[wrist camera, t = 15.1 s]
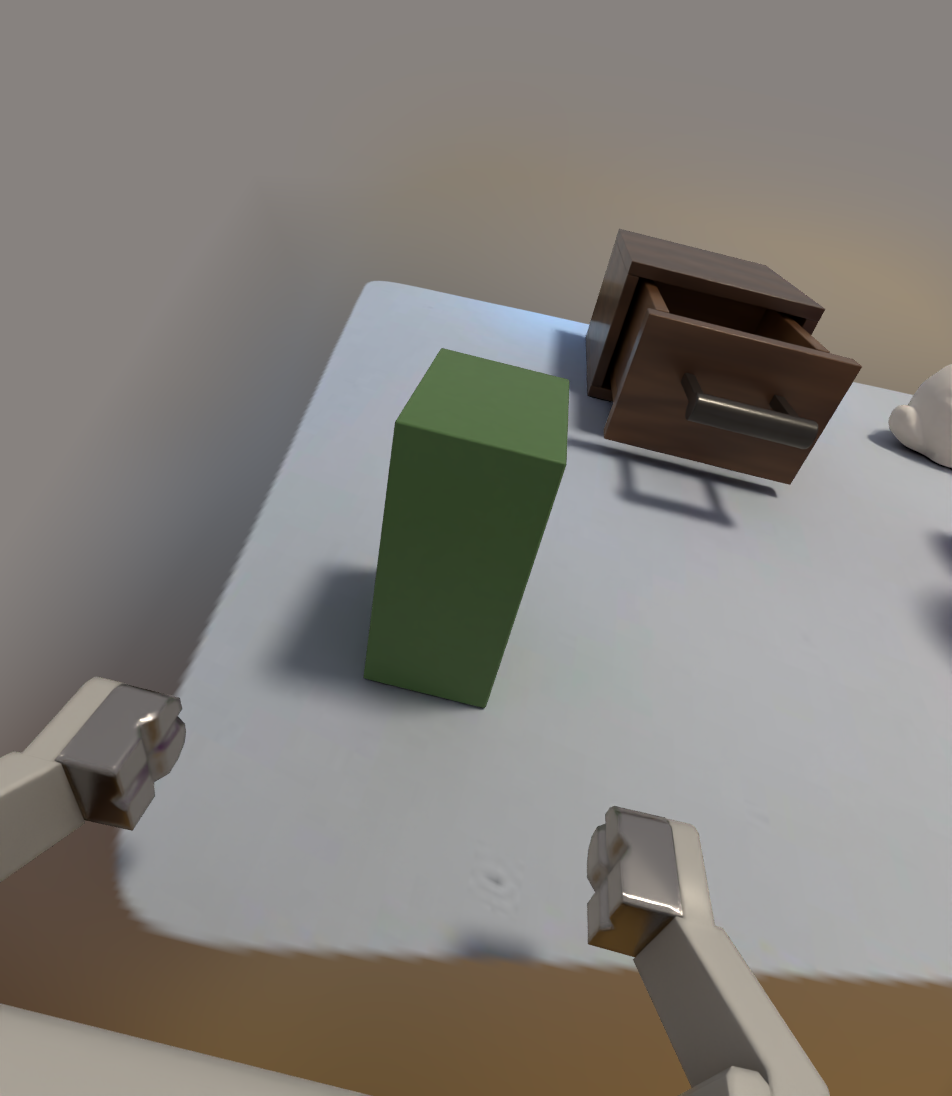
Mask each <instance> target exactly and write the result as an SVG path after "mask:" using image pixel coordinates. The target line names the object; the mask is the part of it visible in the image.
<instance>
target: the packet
mask: <svg viewBox="0 0 952 1096" xmlns="http://www.w3.org/2000/svg"><path fill="white" fill-rule="evenodd" d="M568 405H569V380H568V379H564V378H560V377H556V376H552V375H548V374H544V373H540V372H536V371H532V370H528V369H524V368H520V367H516V366H512V365H508V364H504V363H500V362H496V361H492V360H488V359H484V358H480V357H476V356H472V355H468V354H464V353H460V352H456V351H452V350H448V349H443V348H441V350H440V351H439V353H438V354H437V356H436V358H435V359H434V361H433V362H432V364H431V366H430V367H429V369H428V370H427V372H426V374H425V375H424V377H423V378H422V380H421V382H420V383H419V385H418V386H417V388H416V390H415V391H414V393H413V394H412V396H411V398H410V399H409V401H408V402H407V404H406V406H405V407H404V409H403V410H402V412H401V414H400V415H399V417H398V418H397V420H396V422H395V427H394V435H393V443H392V451H391V459H390V467H389V475H388V483H387V491H386V500H385V508H384V516H383V524H382V532H381V540H380V548H379V556H378V564H377V572H376V580H375V588H374V596H373V604H372V612H371V620H370V628H369V636H368V644H367V652H366V661H365V669H364V678H365V679H368V680H372V681H376V682H380V683H385V684H389V685H393V686H397V687H401V688H405V689H409V690H413V691H417V692H421V693H425V694H429V695H433V696H437V697H441V698H445V699H449V700H453V701H457V702H461V703H465V704H469V705H473V706H477V707H481V708H485V707H486V705H487V702H488V699H489V696H490V693H491V690H492V687H493V684H494V681H495V678H496V675H497V672H498V669H499V666H500V663H501V660H502V657H503V654H504V651H505V648H506V645H507V642H508V639H509V636H510V633H511V630H512V627H513V624H514V621H515V618H516V615H517V612H518V609H519V606H520V603H521V600H522V597H523V594H524V591H525V588H526V585H527V582H528V579H529V576H530V572H531V569H532V566H533V563H534V560H535V557H536V554H537V551H538V548H539V545H540V542H541V539H542V536H543V533H544V530H545V527H546V524H547V521H548V518H549V515H550V512H551V509H552V506H553V503H554V500H555V497H556V494H557V491H558V488H559V485H560V482H561V479H562V476H563V473H564V470H565V467H566V460H567V432H568Z"/></svg>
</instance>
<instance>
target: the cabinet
mask: <svg viewBox="0 0 952 1096" xmlns="http://www.w3.org/2000/svg"><path fill="white" fill-rule="evenodd" d="M639 277H642V278H646V279H650V280H654V281H658V282H662V283H666V284H670V285H674V286H678V287H682V288H686V289H690V290H694V291H698V292H702V293H706V294H710V295H714V296H718V297H722V298H726V299H730V300H734V301H738V302H742V303H746V304H750V305H754V306H758V307H762V308H766V309H770V310H774V311H778V312H782V313H786V314H788V315H789V316H790V317H791V318H792V319H793V320H794V321H796V322H797V323H798V324H799V325H800V326H801V327H802V328H803V329H805V330H806V331H807V332H808V333H809V334H810V335H812V333H813V331H814V329H815V327H816V325H817V323H818V321H819V320H820V318H821V316H822V314H823V312H824V311H825V309H824V308H823V307H822V306H820V305H819V304H818V303H816V302H815V301H813V300H812V299H810V298H809V297H808V296H807V295H805V294H804V293H803V292H801V291H800V290H798V289H797V288H796V287H794V286H793V285H791V284H790V283H789V282H788V281H786V280H785V279H783V278H782V277H781V276H779V275H778V274H777V273H775V272H774V271H773V270H771V269H770V268H768V267H767V266H766V265H762V264H758V263H754V262H750V261H746V260H742V259H738V258H734V257H730V256H726V255H722V254H718V253H714V252H710V251H706V250H702V249H698V248H694V247H690V246H686V245H682V244H678V243H674V242H670V241H666V240H662V239H658V238H654V237H650V236H646V235H642V234H638V233H634V232H630V231H626V230H622V229H619V231H618V234H617V237H616V241H615V244H614V247H613V251H612V254H611V257H610V260H609V264H608V267H607V270H606V273H605V277H604V280H603V283H602V286H601V289H600V292H599V296H598V299H597V303H596V305H595V309H594V312H593V315H592V319H591V322H590V325H589V329H588V331H587V334H586V361H587V391H588V396H592V397H596V398H600V399H604V400H608V401H612V402H613V398H612V390H611V382H610V374H609V365H610V362H611V359H612V356H613V353H614V350H615V347H616V344H617V341H618V338H619V335H620V332H621V330H622V327H623V324H624V321H625V318H626V315H627V312H628V309H629V306H630V303H631V300H632V297H633V295H634V292H635V289H636V286H637V283H638V280H639Z"/></svg>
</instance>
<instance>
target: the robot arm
mask: <svg viewBox="0 0 952 1096" xmlns="http://www.w3.org/2000/svg"><path fill="white" fill-rule="evenodd" d="M181 710H182V705H181V701H180V698H179V697H175V696H171V695H167V694H162V693H159V692H155V691H151V690H147V689H142V688H138V687H134V686H131V685H128V684H125V683H121V682H117V681H113V680H108V679H104V678H100V677H94V678H92V679H91V680H89V681H88V682H86V683H85V684H83V686H82V687H81V688H80V689H79V690H78V691H77V692H76V693H75V695H74V696H73V697H72V698H71V699H70V700H69V701H68V702H67V703H66V704H65V706H64V707H63V708H62V709H61V710H60V711H59V712H58V713H57V715H56V716H55V717H54V718H53V719H52V720H51V721H50V723H48V725H47V726H46V727H45V728H44V729H43V730H42V731H41V732H40V733H39V735H38V736H37V737H36V738H35V739H34V740H33V741H32V742H31V743H30V745H29V746H28V747H27V748H26V749H25V750H24V751H23V752H22V753H20V752H15V751H13V752H11V753H9V754H7V755H5V756H3V757H1V758H0V882H1V881H3V880H5V879H6V878H7V877H9V876H10V875H12V874H13V873H15V872H16V871H17V870H19V869H20V868H22V867H23V866H25V865H26V864H27V863H29V862H30V861H31V860H33V859H35V858H36V857H38V856H39V855H40V854H42V853H43V852H45V851H46V850H47V849H49V848H50V847H52V846H53V845H55V844H56V843H57V842H59V841H60V840H62V839H63V838H65V837H66V836H68V835H69V834H70V833H72V832H73V831H75V830H76V829H77V828H79V827H80V826H82V825H83V824H84V823H85V821H84V820H87V821H91V822H96V823H101V824H105V825H110V826H114V827H119V828H123V829H128V830H132V831H133V829H134V828H135V826H136V825H137V823H138V822H139V820H140V818H141V817H142V815H143V814H144V812H145V811H146V809H147V808H148V806H149V804H150V803H151V801H152V800H153V798H154V797H155V789H154V782H155V781H157V780H159V779H160V778H162V777H164V776H166V775H167V774H169V773H170V771H171V770H172V768H173V767H174V765H175V763H176V762H177V760H178V758H179V756H180V753H181V751H182V748H183V746H184V743H185V736H186V728H185V723H184V722H183V721H182V720H181V719H180V718H179V717H178V715H179V713H180V712H181ZM587 878H588V880H589V882H590V884H591V886H592V887H593V889H594V891H595V893H594V895H593V896H592V898H591V899H590V900H589V902H588V903H587V922H588V944H589V945H593V946H597V947H600V948H604V949H607V950H611V951H614V952H618V953H622V954H625V955H629V956H632V957H635V958H634V959H633V960H634V963H635V965H636V967H637V969H638V971H639V973H640V976H641V978H642V980H643V982H644V984H645V987H646V989H647V991H648V993H649V995H650V997H651V1000H652V1002H653V1004H654V1006H655V1008H656V1010H657V1013H658V1015H659V1017H660V1019H661V1022H662V1023H663V1026H664V1028H665V1030H666V1032H667V1035H668V1037H669V1039H670V1041H671V1043H672V1046H673V1048H674V1050H675V1052H676V1054H677V1056H678V1059H679V1061H680V1063H681V1065H682V1067H683V1070H684V1072H685V1074H686V1076H687V1078H688V1081H689V1083H690V1085H691V1087H692V1088H691V1089H689V1090H687V1091H686V1092H684V1093H682V1094H680V1095H679V1096H830V1094H829V1090H828V1087H827V1085H826V1084H825V1082H824V1081H823V1079H822V1078H821V1076H820V1075H819V1073H818V1072H817V1070H816V1069H815V1067H814V1066H813V1064H812V1063H811V1061H810V1060H809V1058H808V1057H807V1055H806V1053H805V1052H804V1050H803V1049H802V1047H801V1046H800V1044H799V1043H798V1041H797V1040H796V1038H795V1037H794V1035H793V1034H792V1032H791V1031H790V1029H789V1028H788V1026H787V1025H786V1023H785V1021H784V1020H783V1018H782V1017H781V1015H780V1014H779V1012H778V1011H777V1009H776V1008H775V1006H774V1005H773V1003H772V1002H771V1000H770V999H769V997H768V996H767V994H766V993H765V991H764V990H763V988H762V987H761V985H760V984H759V982H758V980H757V979H756V977H755V976H754V974H753V973H752V971H751V970H750V968H749V967H748V965H747V964H746V962H745V961H744V959H743V958H742V956H741V955H740V953H739V952H738V950H737V948H736V947H735V945H734V944H733V942H732V941H731V939H730V938H729V936H728V935H727V933H726V932H725V930H724V929H723V928H721V927H717V926H715V923H714V917H713V912H712V906H711V900H710V895H709V889H708V883H707V878H706V872H705V866H704V861H703V855H702V849H701V843H700V838H699V833H698V832H697V830H696V828H695V827H694V826H693V825H691V824H687V823H683V822H679V821H675V820H670V819H666V818H665V817H660V816H656V815H651V814H647V813H643V812H638V811H634V810H630V809H625V808H621V807H617V806H613V807H610V808H609V810H608V811H607V813H606V814H605V824H604V825H601V826H598V827H597V828H596V830H595V832H594V833H593V835H592V837H591V841H590V845H589V849H588V857H587ZM0 1096H371V1095H367V1094H363V1093H359V1092H355V1091H351V1090H347V1089H343V1088H339V1087H334V1086H331V1085H327V1084H323V1083H319V1082H315V1081H311V1080H306V1079H302V1078H298V1077H295V1076H291V1075H287V1074H282V1073H278V1072H274V1071H270V1070H266V1069H262V1068H258V1067H254V1066H250V1065H246V1064H242V1063H238V1062H234V1061H230V1060H226V1059H222V1058H218V1057H214V1056H210V1055H206V1054H202V1053H198V1052H194V1051H190V1050H186V1049H181V1048H178V1047H174V1046H170V1045H166V1044H161V1043H158V1042H154V1041H150V1040H146V1039H141V1038H137V1037H133V1036H129V1035H125V1034H121V1033H117V1032H113V1031H109V1030H105V1029H101V1028H97V1027H92V1026H89V1025H85V1024H81V1023H77V1022H73V1021H69V1020H65V1019H61V1018H57V1017H53V1016H49V1015H45V1014H40V1013H37V1012H33V1011H29V1010H25V1009H21V1008H16V1007H12V1006H8V1005H4V1004H1V1003H0Z"/></svg>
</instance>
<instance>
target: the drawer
mask: <svg viewBox="0 0 952 1096" xmlns="http://www.w3.org/2000/svg"><path fill="white" fill-rule="evenodd" d="M861 368H862V366H861V365H860V364H858V363H857V362H856V361H855V360H853V359H850V358H846V357H842V356H838V355H834V354H830V352H829V351H828V350H827V349H826V348H825V347H823V346H822V345H821V344H820V343H819V342H818V341H817V340H816V339H815V338H814V337H812V336H811V335H810V334H809V333H808V332H807V331H806V330H805V329H803V328H802V327H801V326H800V325H799V324H798V323H797V322H796V321H794V320H793V319H792V318H791V317H790V316H789V315H788V314H786V313H782V312H778V311H774V310H770V309H766V308H762V307H758V306H754V305H750V304H746V303H742V302H738V301H734V300H730V299H726V298H722V297H718V296H714V295H710V294H706V293H702V292H698V291H694V290H690V289H686V288H682V287H678V286H674V285H670V284H666V283H662V282H658V281H654V280H650V279H646V278H642V277H639V280H638V283H637V286H636V289H635V292H634V295H633V297H632V300H631V303H630V306H629V309H628V312H627V315H626V318H625V321H624V324H623V327H622V330H621V332H620V335H619V338H618V341H617V344H616V347H615V350H614V353H613V356H612V359H611V362H610V365H609V374H610V382H611V390H612V398H613V405H612V408H611V410H610V413H609V416H608V419H607V422H606V424H605V427H604V438H605V439H608V440H612V441H616V442H620V443H624V444H628V445H632V446H636V447H640V448H644V449H648V450H652V451H656V452H660V453H664V454H668V455H673V456H677V457H681V458H685V459H689V460H693V461H697V462H701V463H705V464H709V465H713V466H717V467H721V468H725V469H729V470H733V471H737V472H741V473H745V474H749V475H753V476H757V477H761V478H765V479H769V480H773V481H777V482H781V483H785V484H789V485H790V484H791V482H792V481H793V479H794V478H795V476H796V474H797V473H798V471H799V469H800V468H801V466H802V464H803V463H804V461H805V459H806V458H807V456H808V455H809V453H810V451H811V450H812V448H813V446H814V445H815V443H816V441H817V440H818V438H819V437H820V435H821V433H822V432H823V430H824V428H825V427H826V425H827V423H828V422H829V420H830V419H831V417H832V415H833V414H834V412H835V410H836V409H837V407H838V405H839V404H840V402H841V401H842V399H843V397H844V396H845V394H846V392H847V391H848V389H849V387H850V386H851V384H852V383H853V381H854V379H855V378H856V376H857V374H858V373H859V371H860V369H861Z"/></svg>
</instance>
